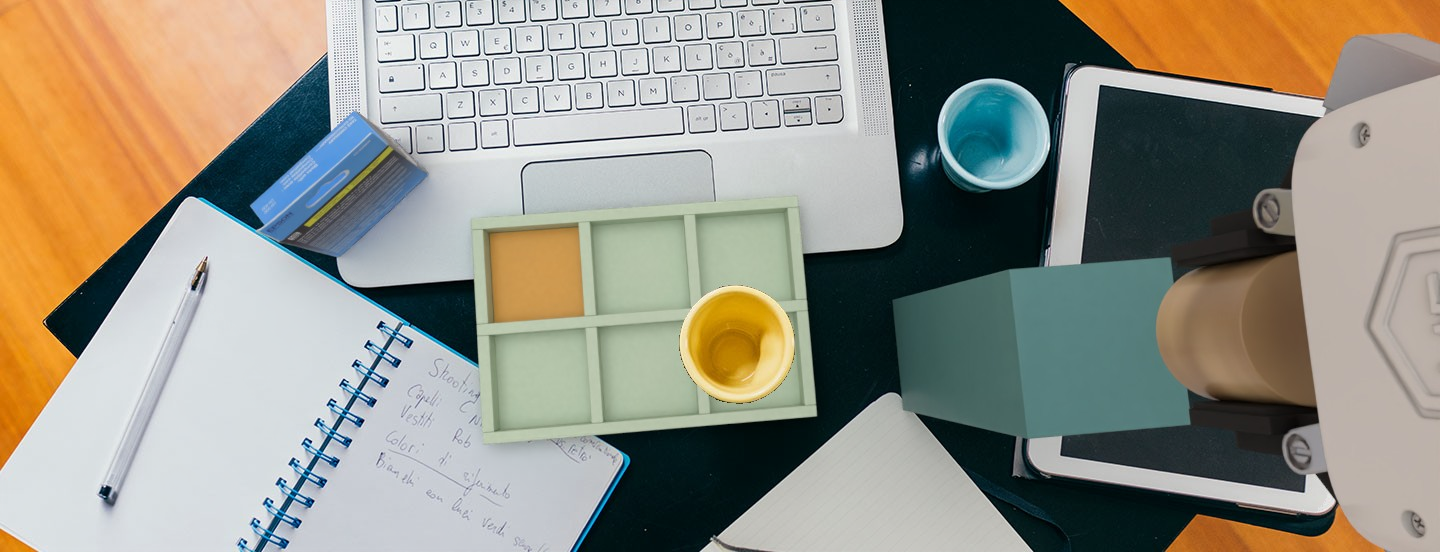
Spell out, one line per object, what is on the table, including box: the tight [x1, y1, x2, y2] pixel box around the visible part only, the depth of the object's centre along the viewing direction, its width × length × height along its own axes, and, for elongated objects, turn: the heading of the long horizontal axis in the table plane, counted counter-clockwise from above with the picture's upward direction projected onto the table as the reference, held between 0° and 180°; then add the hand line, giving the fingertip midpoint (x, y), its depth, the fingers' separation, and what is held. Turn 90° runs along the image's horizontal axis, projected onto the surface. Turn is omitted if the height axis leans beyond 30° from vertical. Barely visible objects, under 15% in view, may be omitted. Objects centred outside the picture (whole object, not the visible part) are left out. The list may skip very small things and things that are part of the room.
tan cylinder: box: [1156, 250, 1317, 407], centre depth 26 cm, size 4×4×4 cm
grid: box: [470, 195, 818, 445], centre depth 60 cm, size 15×23×3 cm
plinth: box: [892, 256, 1191, 440], centre depth 52 cm, size 8×8×22 cm
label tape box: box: [249, 110, 429, 258], centre depth 55 cm, size 9×4×12 cm, turn 135°
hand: (1226, 331), depth 28 cm, fingers closed on tan cylinder, 4 cm apart
